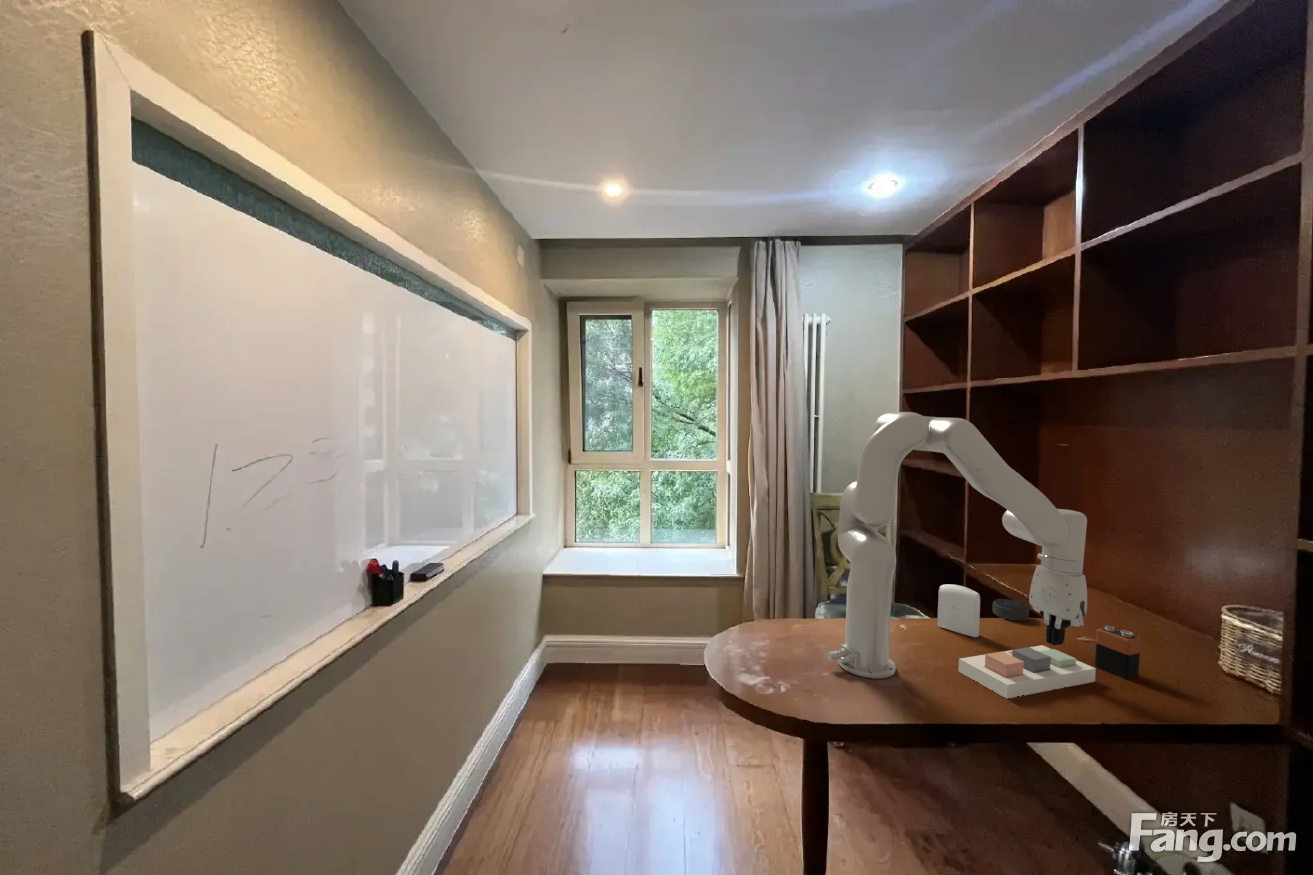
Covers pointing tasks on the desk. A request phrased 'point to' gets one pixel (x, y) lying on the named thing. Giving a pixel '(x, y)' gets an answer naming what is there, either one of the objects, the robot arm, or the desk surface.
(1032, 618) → the desk surface
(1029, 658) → the charcoal key
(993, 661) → the terracotta key
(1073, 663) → the sage key
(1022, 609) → the smart speaker
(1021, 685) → the white flat slab
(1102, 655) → the battery
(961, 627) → the photo printer
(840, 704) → the desk surface
